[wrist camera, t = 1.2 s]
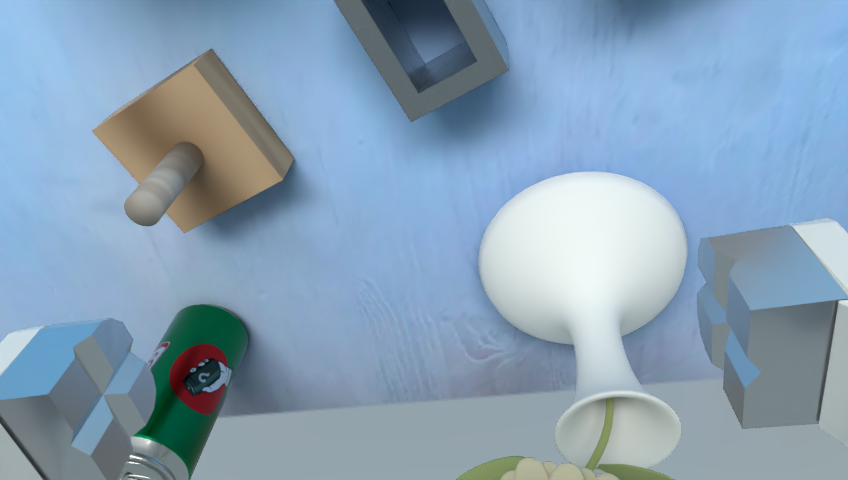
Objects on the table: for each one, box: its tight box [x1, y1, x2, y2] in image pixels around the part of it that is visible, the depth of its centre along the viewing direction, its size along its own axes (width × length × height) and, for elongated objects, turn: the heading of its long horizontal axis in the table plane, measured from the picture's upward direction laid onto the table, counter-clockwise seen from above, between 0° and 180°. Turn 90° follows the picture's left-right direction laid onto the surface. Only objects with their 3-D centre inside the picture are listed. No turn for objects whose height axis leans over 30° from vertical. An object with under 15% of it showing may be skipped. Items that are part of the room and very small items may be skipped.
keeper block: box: [92, 49, 294, 233], centre depth 33 cm, size 7×7×8 cm
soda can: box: [117, 304, 249, 480], centre depth 39 cm, size 5×5×12 cm
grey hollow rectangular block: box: [334, 0, 509, 122], centre depth 30 cm, size 7×5×4 cm
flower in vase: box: [456, 172, 688, 480], centre depth 28 cm, size 13×11×25 cm
